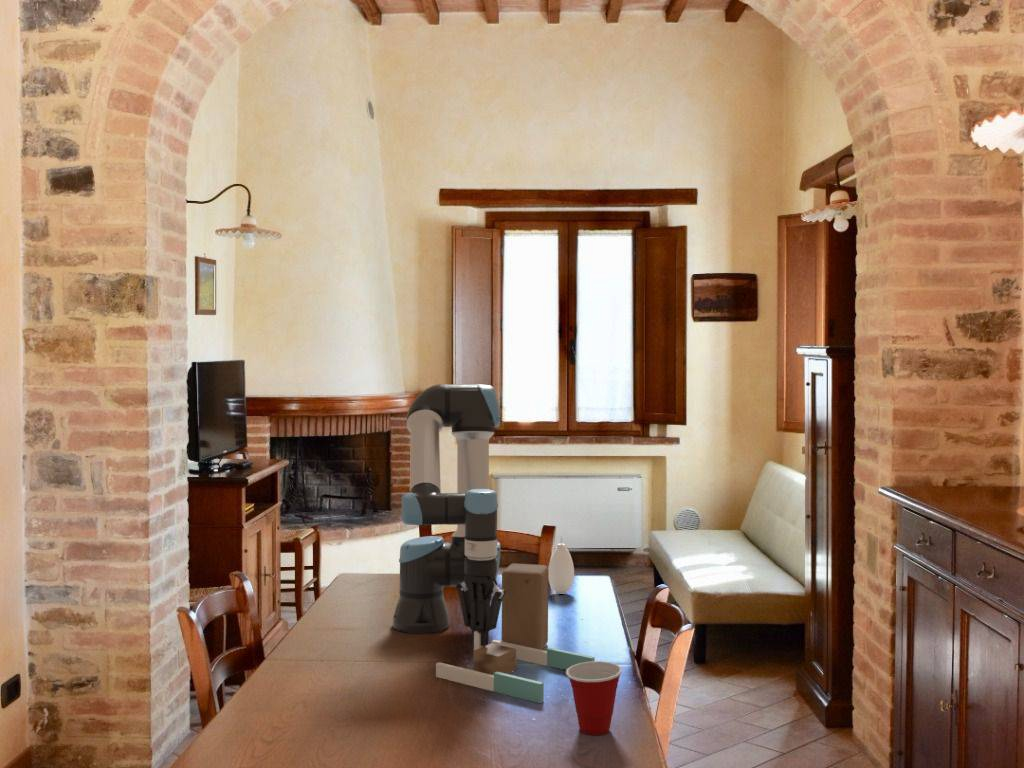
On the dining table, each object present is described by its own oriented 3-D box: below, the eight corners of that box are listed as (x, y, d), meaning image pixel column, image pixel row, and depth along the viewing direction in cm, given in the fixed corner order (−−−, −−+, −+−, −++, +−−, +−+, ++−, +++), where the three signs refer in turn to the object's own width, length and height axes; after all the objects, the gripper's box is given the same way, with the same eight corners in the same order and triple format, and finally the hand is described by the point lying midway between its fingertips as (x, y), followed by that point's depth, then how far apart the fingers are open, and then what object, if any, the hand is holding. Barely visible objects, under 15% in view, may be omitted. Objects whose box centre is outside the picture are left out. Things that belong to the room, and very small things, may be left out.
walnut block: (473, 672, 219) (473, 650, 219) (491, 664, 225) (491, 643, 225) (498, 678, 215) (498, 656, 215) (516, 670, 221) (516, 648, 221)
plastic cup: (561, 719, 191) (562, 660, 190) (615, 718, 192) (616, 658, 191) (569, 741, 180) (570, 678, 180) (626, 740, 181) (627, 677, 181)
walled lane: (435, 676, 216) (435, 659, 216) (494, 651, 234) (494, 635, 234) (540, 703, 200) (540, 684, 200) (594, 674, 218) (594, 657, 218)
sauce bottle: (544, 592, 294) (545, 533, 294) (569, 590, 296) (570, 532, 295) (552, 598, 286) (552, 538, 286) (577, 596, 288) (577, 537, 288)
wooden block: (540, 655, 231) (541, 573, 231) (500, 652, 234) (500, 570, 233) (548, 643, 241) (549, 564, 241) (509, 640, 244) (510, 562, 243)
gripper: (448, 556, 222) (447, 657, 223) (493, 563, 215) (492, 668, 215) (468, 551, 229) (467, 649, 229) (513, 557, 221) (512, 659, 222)
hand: (479, 658), depth 222 cm, fingers closed
